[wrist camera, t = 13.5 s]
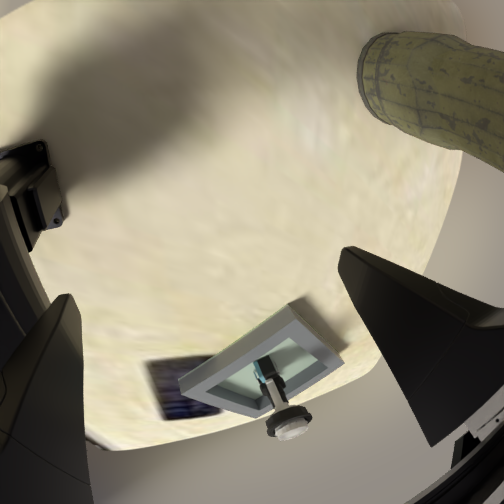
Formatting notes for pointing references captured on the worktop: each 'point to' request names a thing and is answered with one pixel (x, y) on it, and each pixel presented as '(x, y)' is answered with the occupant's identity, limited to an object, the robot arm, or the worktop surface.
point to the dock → (257, 347)
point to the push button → (280, 403)
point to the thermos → (437, 91)
